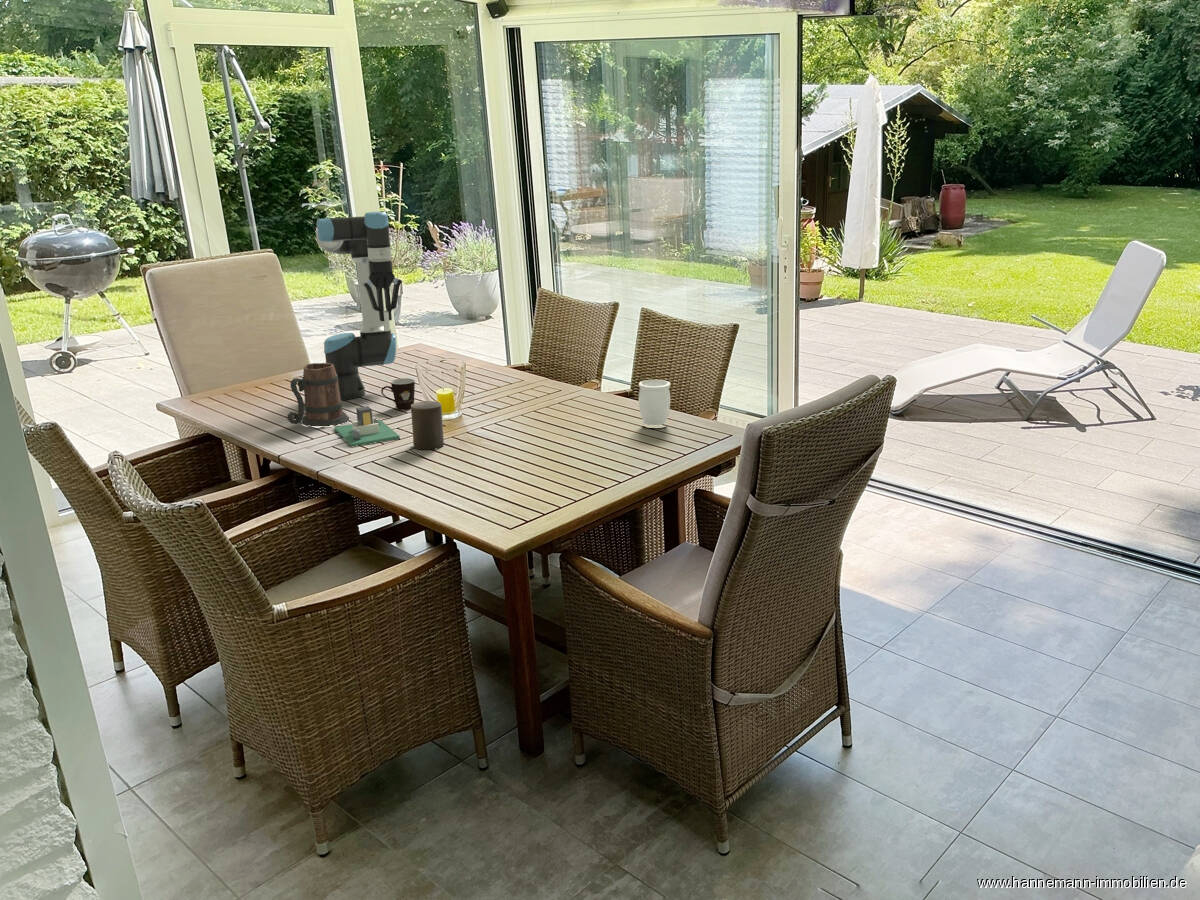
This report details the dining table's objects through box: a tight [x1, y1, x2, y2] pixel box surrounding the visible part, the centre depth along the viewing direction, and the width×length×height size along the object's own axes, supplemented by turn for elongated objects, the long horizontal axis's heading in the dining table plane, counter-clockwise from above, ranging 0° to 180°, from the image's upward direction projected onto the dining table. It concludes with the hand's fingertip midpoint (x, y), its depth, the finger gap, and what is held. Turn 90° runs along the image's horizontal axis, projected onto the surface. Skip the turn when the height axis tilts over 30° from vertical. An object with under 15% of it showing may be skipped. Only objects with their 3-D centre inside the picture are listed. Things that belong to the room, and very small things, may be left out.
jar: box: [638, 379, 671, 425], centre depth 324 cm, size 11×10×15 cm
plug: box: [355, 405, 374, 426], centre depth 323 cm, size 4×4×8 cm
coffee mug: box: [381, 377, 416, 411], centre depth 353 cm, size 12×9×10 cm
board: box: [333, 418, 401, 447], centre depth 324 cm, size 22×16×4 cm
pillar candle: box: [410, 400, 445, 451], centre depth 310 cm, size 10×10×15 cm
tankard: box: [287, 362, 350, 426], centre depth 335 cm, size 24×17×20 cm
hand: (386, 330), depth 328 cm, fingers closed
